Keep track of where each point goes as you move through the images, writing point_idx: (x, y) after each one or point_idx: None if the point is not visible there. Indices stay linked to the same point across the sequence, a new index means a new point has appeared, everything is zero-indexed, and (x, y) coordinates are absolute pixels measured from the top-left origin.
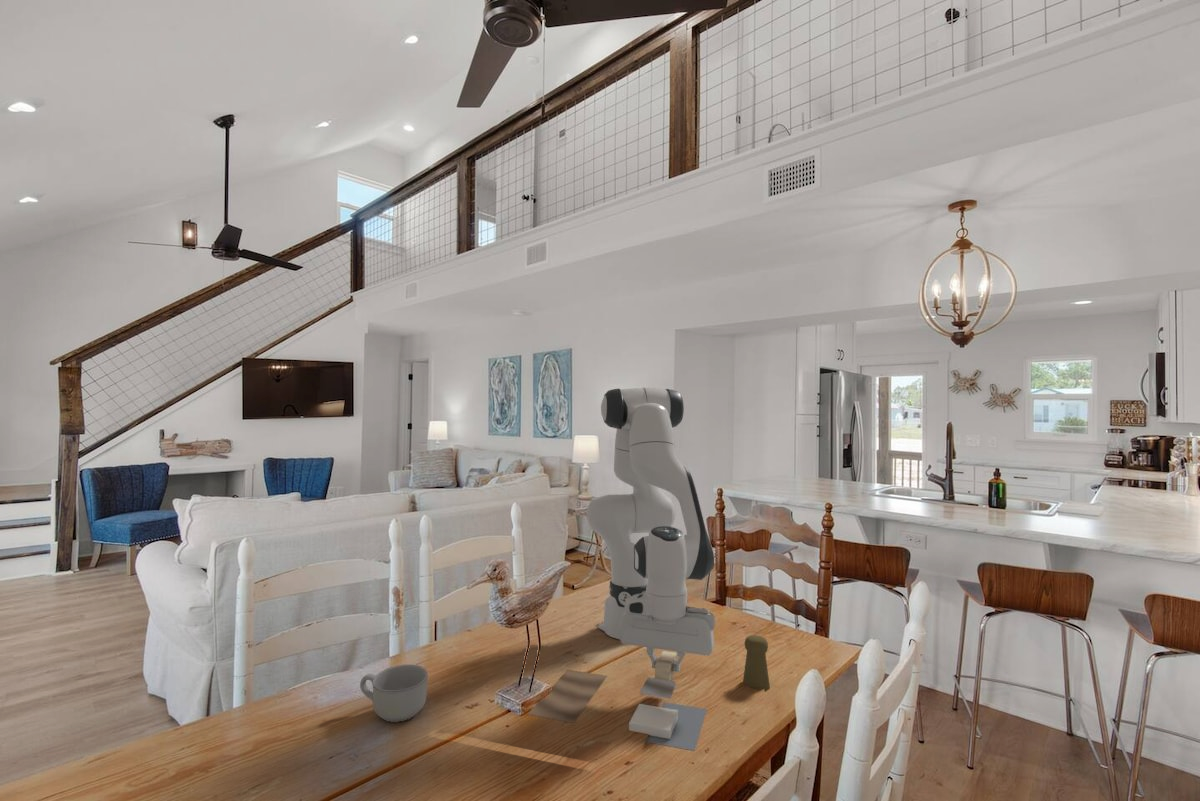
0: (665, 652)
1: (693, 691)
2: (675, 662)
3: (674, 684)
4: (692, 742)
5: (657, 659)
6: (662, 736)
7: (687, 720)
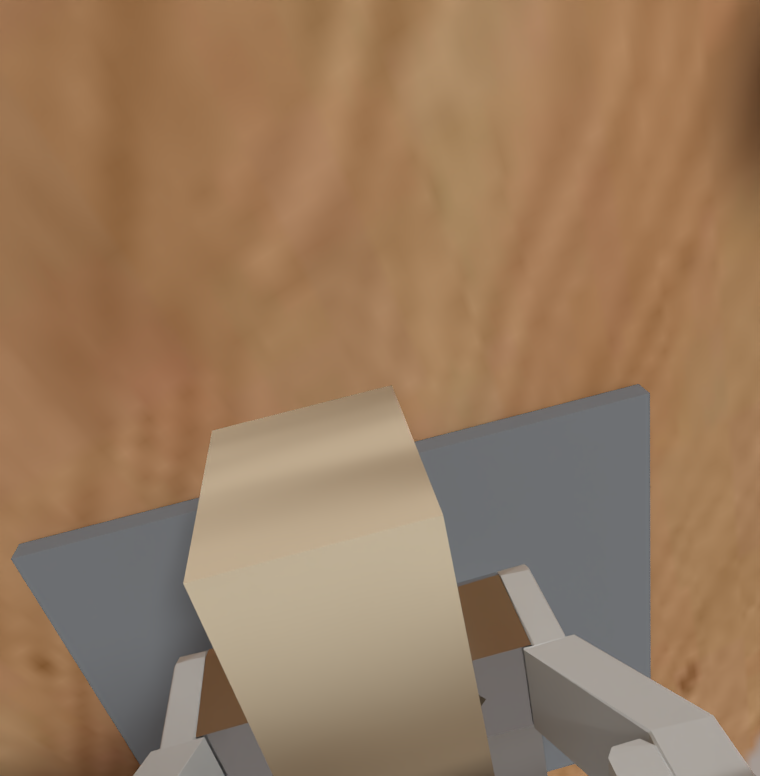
0: (261, 609)
1: (460, 110)
2: (517, 701)
3: (541, 754)
4: None
5: (252, 762)
6: None
7: (559, 574)
